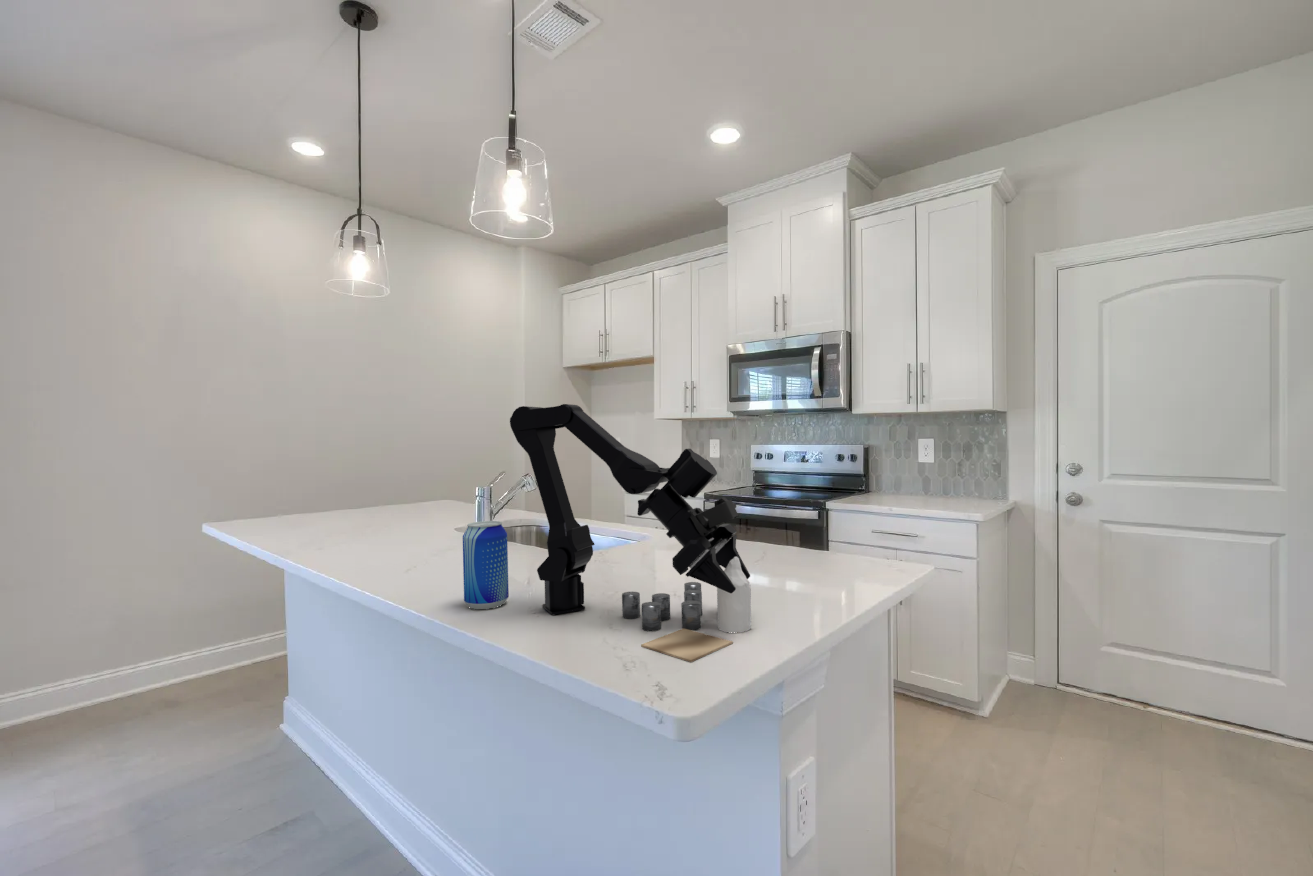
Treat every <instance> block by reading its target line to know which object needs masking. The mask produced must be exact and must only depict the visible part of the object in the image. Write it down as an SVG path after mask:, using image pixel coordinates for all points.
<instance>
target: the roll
mask: <svg viewBox="0 0 1313 876" xmlns="http://www.w3.org/2000/svg"><path fill="white" fill-rule="evenodd" d="M723 571H724V572H725V574H726V575H727V576H728V578H729V579H730V580H731V582H732V583H733V585H734V586H735V588H736V590H735V591H734V592H733V593H728V592H726V591H724V590H722V589H719V588H717V587H716V598H717V599H716V601H717V602H716V603H717V605H716V606H717V628H718V630H719V631H721V632H724V633H727V632H730V633H729V634H737V633H736V632H740V633H744V631H745V632H747V631H749V630H750V629H751V622H752V621H751V620H752V619H751V617H752V613H751V612H752V606H751V605H752V601H751V600H752V588H751V584H750V581H749V580H748V579H747V578H746V576H745V575H744V573H743V572H742V569H741V564H740V561H739V558H738V557H734V558H733V559H732V560H730V562H729V563H728V566H727V567H726V568H724V570H723ZM731 632H732V633H731ZM734 632H735V633H734Z"/></svg>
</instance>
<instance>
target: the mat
mask: <svg viewBox="0 0 1313 876" xmlns="http://www.w3.org/2000/svg"><path fill="white" fill-rule="evenodd" d="M733 643H734V641H733V640H729V639H726V638H725V639H724V638H721V637H717V636H713V635H711V634H707V633H702V632H700V631H696V630H688V629H684V628H681V629H678V630H675V631H673V632H670V633H668V634H665V635H663V636H660V637H657V638H655V639H652V640H649V641H647V642H645V643H641V644H640V645H641V647H642V648H644V649H648V650H650V651H653V652H654V651H655V652H657V653H662V654H664V655H667V656H670V657H673V658H676V659H679V660H682V661H686V662H689V663H693V662H695V661H698V660H699V659H702V658H704V657H706V656H708V655H710V654H713V653H715V652H717V651H719V650H721V649H724V648H726V647H728V646H731V645H733Z"/></svg>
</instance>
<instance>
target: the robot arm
mask: <svg viewBox="0 0 1313 876" xmlns="http://www.w3.org/2000/svg"><path fill="white" fill-rule="evenodd" d="M509 425H510V428H511V431H512V433H513V436H514V437H515V440H516V442H517V443H518V444H519V445H520V446H521V448H522V449H523V450H524V451H525V452H526V453H527V455H528V456H529V460H530V464H531V467H532V471H533V474H534V478H535V481H536V484H537V489H538V492H539V495H540V497H541V501H542V506H543V508H544V512H545V515H546V519H547V523H548V525H549V528H548V532H547V533H548V534H547V539H546V540H547V541H546V546H547V547H546V548H547V555H548V556H547V557H546V558H545V560H544V561H543V562H542V563H541V564H540V565H539V566H538V567H537V569H536V572H537V576H538V578H539V580H540V581H544V603H543V604H542V605H541V606H542V608H543V609H544V610H545V611H547V612H548V613H549V614H551V616H552V615H553V616H554V615H560V614H567V613H573V612H578V611H583V610H586V606H584V604H585V585H584V582H583V581H582V575H581V573H584V572H585V571H586V568H587V565H588V563H590V561H591V558H592V556H593V555H594V549H593V546H595V544H596V543H595V542H594V541H593V539H592V536H591V531H590V527H589V525H588V524H585V525H580V523H578V521H577V520H576V518H575V516H574V512H573V510H572V506H571V503H570V500H569V495H568V492H567V489H566V485H565V482H564V479H563V476H562V471H561V469H560V466H559V463H558V458H557V455H556V452H555V449H554V448H555V447H554V446H555V441H556V436H557V433H556V432H557V431H556V429H562V428H566V429H567V430H568V431H569V432H570V433H571V434H572V435H573V436H575V437H576V439H578V440H579V441H581V443H582V444H584V445H585V446H586V447H587V448H588V449H589V450H590V451H592V452H593V453H594V454H595V455H596V456H597V457H598V458H599V459H601V460H602V461H603V462H604V463H605V464H606V465H607V466H608V468H609V470H610V472H611V474H612V477H613V479H615V481H616V482H617V483H618V484H619V486H620V487H621V488H622V490H624V491H625V492H626V493H628V494H629V495H630V494H631V495H640V494H645V493H649V492H650V494H649V495H648V496H647V497H646V498H642V499H638V500H637V504H638V507H637V515H638V516H639V517H641V516H644V515H648V514H649V513H651V514H652V515H654V517H655V518H656V519H657V520H658V521H659V522H660V523H661V524H662V526H664V527H665V528H666V530H667V532H666V533H665V535H666V536H667V537H668V538H669V539H672V538H674V539H675V540H677V542H678V543H679V544H680V545H681V546H682V548H681V549H680V550H679V551H678V552H677V553H676V554H675V555H674V556H673V557H672V567H673V568H674V570H675V571H676V572H677V573H678V574H679V575H680V576H681V575H684V574H685V573H686V572H687V573H686V574H685V576H686V577H687V578H688V577H691V578H693V579H696V580H698V581H701V582H703V583H706V584H708V585H711V586H713V587H715V588H716V589H717V588H719V589H722V590H724V591H726V592H728V593H733V592H734V591H735V590H736V588H735V586H734V585H733V583H732V582H731V580H730V579H729V578H728V576H727V575H726V574H725V572H724V570H723V569H725V568H726V567H727V566H728V563H729V562H730V560H732V559H733V558H734V557H738V558H739V561H740V564H741V569H742V572H743V573H744V575H745V576H746V578H747V580H748V579H750V578H751V574H750V572H749V570H748V569H747V567H746V565H745V563H744V561H743V560H742V558H741V555H740V554H739V552H738V549H737V539H738V535H737V532H738V531H737V530H736V529H735V528H734V526H733V525H731V523H727V522H729V521H731V520H734V519H736V518H739V513H738V511H737V509H736V508H737V504H736V503H734V502H733V500H732V499H729V500H728V499H727V497H725V496H723V497H721V498H719V499H716V500H715V501H714V506H713V507H710V508H709V509H706V510H704V511H703V510H702V509H701V508H700V507H694V508H693V507H692V506H691V505H690V504H689V503H688V502H687V501H686V499H687V498H688V497H691V498H696V497H697V496H698V495H699V494H700V493H701V492H702V491H703V490H704V489H705V488H706V487H707V486H708V484H709V483H710V482H712V480H713V479H714V478H715V477H716V476H717V475H718V471H717V469H716V468H715V467H714V465H713V464H712V463H711V461H709V460H708V459H705V458H704V457H703V456H701V454H698V453H696V452H695V451H694V450H693V449H692V448H685V449H683V451H682V452H681V453H680V455H679V457H678V458H677V459H676V460H675V462H673V464H672V465H671V466H670V467H667V468H666V467H660V466H659V465H658V464H657V463H656V462H655V461H653V460H651V459H650V458H648V457H646V456H644V455H642V454H641V453H638V452H636V451H634V450H631V449H630V448H628V447H626V446H624V445H623V444H622V443H621V442H620V441H619V440H618V439H616V437H614V436H613V435H611V434H610V433H609V431H607V430H606V429H605V428H603V426H601V425H600V424H599V423H598V422H596V421H595V419H593V418H592V417H591V416H589V415H588V414H587V413H586V412H585V411H584V410H583V409H582V407H581V406H579V405H578V404H569V403H566V404H565V403H562V404H560V405H557V406H548V407H541V406H528V405H527V406H526V405H525V406H524V405H523V406H519V407H517V408H516V409H514V411H512V413H511V416H510V418H509ZM662 483H665V484H664V485H663V486H662V487H661V488H660V489H659V488H658V487H659V485H661V484H662ZM651 491H652V492H651ZM685 498H686V499H685ZM722 567H723V568H722Z"/></svg>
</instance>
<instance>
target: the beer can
mask: <svg viewBox="0 0 1313 876" xmlns="http://www.w3.org/2000/svg"><path fill="white" fill-rule="evenodd" d="M466 525H467V528H466V530H465V531H464V533H463V535H462V565H463V566H462V567H463V569H462V570H463V573H462V574H463V601H464V603H465V604H466V605H467V607H468V606H469V607H470V608H474V609H473V610H475V609H486V610H490V609H489V608H493V609H495V608H494V607H497V606H500V605H502V604H504V603H505V604H506V602H507V600H508V599H509V559H508V558H509V557H508V555H509V553H508V552H509V551H508V532H507V531H506V529H505V528H504V526H503V522H502V521H499V520H498V521H497V520H486V521H485V520H484V521H476V522H470V523H467V524H466ZM505 604H504V605H505ZM469 607H468V608H469ZM500 607H501V606H500ZM470 608H469V609H470ZM497 608H498V607H497Z"/></svg>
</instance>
